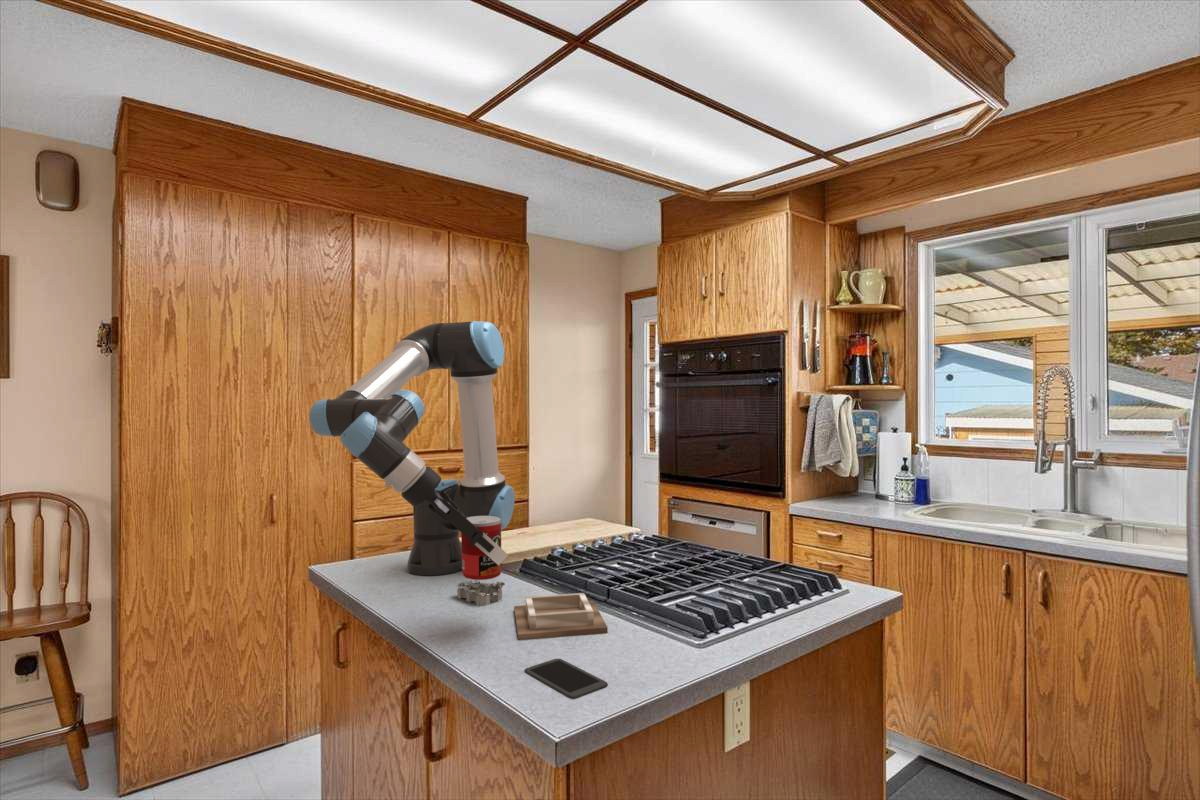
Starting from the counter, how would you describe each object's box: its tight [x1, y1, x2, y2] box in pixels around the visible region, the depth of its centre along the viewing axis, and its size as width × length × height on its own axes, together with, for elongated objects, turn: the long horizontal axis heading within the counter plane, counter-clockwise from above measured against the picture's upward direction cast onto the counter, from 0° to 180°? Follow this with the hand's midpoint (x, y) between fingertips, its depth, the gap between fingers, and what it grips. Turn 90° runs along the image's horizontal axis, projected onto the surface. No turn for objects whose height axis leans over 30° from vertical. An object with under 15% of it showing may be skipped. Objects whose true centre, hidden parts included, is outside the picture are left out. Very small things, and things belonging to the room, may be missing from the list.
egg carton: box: [454, 579, 506, 606], centre depth 151 cm, size 11×8×4 cm
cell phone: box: [524, 657, 609, 700], centre depth 108 cm, size 7×14×1 cm, turn 39°
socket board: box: [513, 592, 609, 641], centre depth 135 cm, size 17×17×4 cm
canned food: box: [460, 516, 503, 581], centre depth 132 cm, size 8×8×11 cm
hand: (498, 554), depth 133 cm, fingers closed on canned food, 8 cm apart
